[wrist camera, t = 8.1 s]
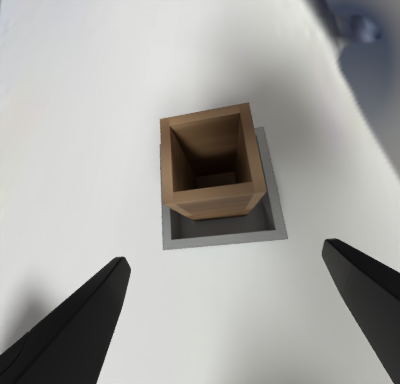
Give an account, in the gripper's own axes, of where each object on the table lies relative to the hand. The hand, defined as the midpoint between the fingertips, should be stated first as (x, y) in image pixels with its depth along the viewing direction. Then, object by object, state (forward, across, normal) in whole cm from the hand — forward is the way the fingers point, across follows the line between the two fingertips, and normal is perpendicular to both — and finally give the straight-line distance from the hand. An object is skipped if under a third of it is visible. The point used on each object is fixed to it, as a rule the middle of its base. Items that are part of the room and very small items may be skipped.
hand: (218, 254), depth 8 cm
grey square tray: (+12, 0, +4) cm, 12 cm away
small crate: (+11, 0, +3) cm, 12 cm away
